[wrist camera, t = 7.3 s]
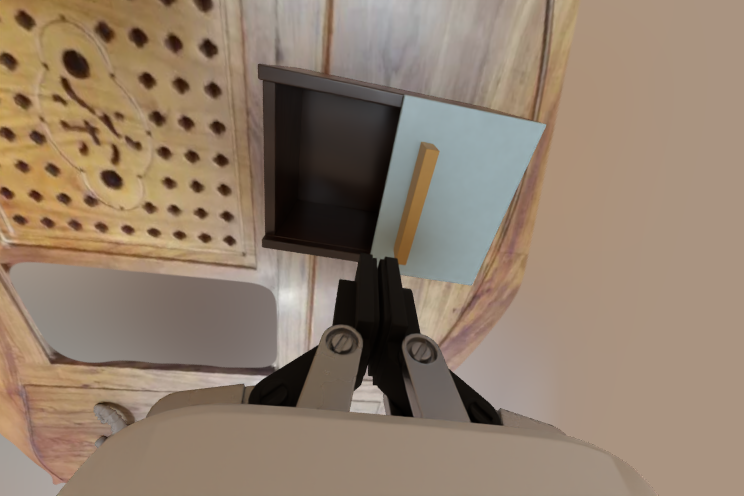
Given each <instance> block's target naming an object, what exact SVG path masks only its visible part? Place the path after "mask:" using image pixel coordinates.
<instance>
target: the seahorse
mask: <svg viewBox="0 0 744 496" xmlns="http://www.w3.org/2000/svg"><path fill="white" fill-rule="evenodd" d="M93 412H94V413H95V416H97V417H98V420H101V423H107V422H108V424H109V425H111V431H113V433H112V434H111V435H110V436H109V437H108V438H107V439H106V437H104V436H103V437H100V438H99V439H98V440H97V441H96V442H95V446H96V447H97V448H98V447H99V446H100V445H102V444H103V443H104V442H105V441H106V440H108V439H109V438H110V437H111V436H113V435H114V434H115V433H117V432H118V431H120V430H121V429H123V428H125V427H127V426H128V425H126V424H125V423H126V422H125V421H124V420H123V419H122V416H121V415H119V414H117V412H116V410H113V409H111V408H110V406H105V405H103V404H98V405H95V406H94V411H93Z"/></svg>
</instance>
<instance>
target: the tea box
mask: <svg viewBox="0 0 744 496" xmlns="http://www.w3.org/2000/svg"><path fill="white" fill-rule="evenodd" d="M258 78H259V79H260V80H263V125H264V189H265V236H264V237H263V239H262V247H264V248H270V249H277V250H283V251H290V252H297V253H303V254H310V255H316V256H323V257H329V258H336V259H342V260H349V261H356V262H358V261H359V256H360V253H366V254H370V253H371V248H372V244H373V239H374V234H375V229H376V225H377V220H378V215H379V210H380V206H381V201H382V196H383V192H384V187H385V182H386V177H387V173H388V168H389V163H390V159H391V154H392V149H393V144H394V140H395V135H396V130H397V126H398V121H399V116H400V111H401V107H402V102H403V97H404V95H410V96H415V97H419V98H424V99H429V100H434V101H439V102H443V103H448V104H453V105H458V106H462V107H467V108H472V109H477V110H482V111H486V112H491V113H496V114H501V115H506V116H510V117H515V118H520V119H525V120H529V121H533V120H530V119H526V118H522V117H519V116H515V115H512V114H508V113H505V112H501V111H497V110H494V109H490V108H486V107H481V106H476V105H472V104H467V103H462V102H457V101H453V100H448V99H443V98H438V97H434V96H429V95H424V94H419V93H415V92H410V91H405V90H400V89H396V88H391V87H386V86H381V85H377V84H372V83H367V82H362V81H358V80H353V79H348V78H343V77H339V76H334V75H329V74H324V73H320V72H315V71H310V70H305V69H301V68H295V67H285V66H276V65H267V64H258ZM534 122H537V121H534ZM539 123H540V122H539Z"/></svg>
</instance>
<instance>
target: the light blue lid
mask: <svg viewBox="0 0 744 496" xmlns="http://www.w3.org/2000/svg"><path fill="white" fill-rule="evenodd" d="M545 127H546V124H543V123H539V122H534V121H529V120H525V119H520V118H515V117H510V116H506V115H501V114H496V113H491V112H486V111H482V110H477V109H472V108H467V107H462V106H458V105H453V104H448V103H443V102H439V101H434V100H429V99H424V98H419V97H415V96H410V95H404V97H403V102H402V107H401V111H400V116H399V121H398V126H397V130H396V135H395V140H394V144H393V149H392V154H391V159H390V163H389V168H388V173H387V177H386V182H385V187H384V192H383V196H382V201H381V206H380V210H379V215H378V220H377V225H376V229H375V234H374V239H373V244H372V248H371V253H370V254H372V255H373V258H377V269H378V264H379V261H380V259H384V258H385V256H386V257H392V258H397V259H398V263H399V270H400V275H405V276H412V277H418V278H425V279H432V280H438V281H445V282H451V283H458V284H465V285H472V284H473V282H474V280H475V278H476V275H477V273H478V271H479V269H480V267H481V265H482V262H483V260H484V258H485V256H486V254H487V252H488V250H489V247H490V245H491V243H492V241H493V239H494V237H495V235H496V232H497V230H498V228H499V226H500V224H501V222H502V219H503V217H504V215H505V213H506V211H507V209H508V207H509V204H510V202H511V200H512V198H513V196H514V194H515V191H516V189H517V187H518V185H519V183H520V181H521V179H522V176H523V174H524V172H525V170H526V168H527V166H528V163H529V161H530V159H531V157H532V155H533V153H534V151H535V148H536V146H537V144H538V142H539V140H540V138H541V135H542V133H543V131H544V129H545Z"/></svg>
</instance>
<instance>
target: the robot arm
mask: <svg viewBox="0 0 744 496" xmlns="http://www.w3.org/2000/svg"><path fill="white" fill-rule="evenodd" d="M367 366H368V376H373V385H377V386H378V388H379V389H380V390H381V391H382V392H383V393H384V394H383V402H384V407H385V412H386V415H379V414H368V413H356V412H349V411H350V406H351V401H352V396H353V391H355V390H356V389H357V388H358V387H359V386H360V385H361V383H362V380H363V376H364V375H365V373H366V369H367ZM57 496H659V495H658V494H657V492H656V491H655V490H654V489H653V488H652V487H651V485H650V484H649V483H648V482H647V481H646V480H645V479H644V478H643V477H642V476H641V475H640V474H639V473H638V472H637V471H636V470H635V469H634V468H633V467H631V466H630V465H629V464H628V463H626V462H624V461H623V460H621V459H620V458H618V457H616V456H615V455H613V454H611V453H609V452H608V451H605V450H603V449H601V448H599V447H597V446H595V445H593V444H590V443H587V442H585V441H582V440H580V439H576V438H574V437H571V436H567V435H566V434H565V433H564V432H562V431H561V430H560V429H558V428H556V427H554V426H552V425H550V424H546V423H543V422H541V421H538V420H534V419H531V418H528V417H525V416H522V415H519V414H516V413H513V412H510V411H507V410H504V409H501V408H500V409H499V410H498V411H497V410H495V409H494V407H493V406H492V405H491V404H490V403H489V402H488V401H486V400H485V399H484V398H483V397H482V396H481V395H479V394H478V393H477V392H476V391H475V390H473V389H472V388H471V387H470V386H469V385H467V384H466V383H465V382H464V381H463V380H461V379H460V378H459V377H458V376H457V375H455V374H454V373H453V372H452V371H451V370H450V369H448V367H447V364H446V362H445V359H444V357H443V355H442V352H441V350H440V348H439V346H438V345H437V344H436V343H435V342H434V341H433V340H432V339H431V338H429V337H428V336H425V335H422V334H420V329H419V324H418V319H417V313H416V308H415V303H414V298H413V293H412V290H411V289H406V288H402V283H401V276H400V270H399V263H398V259H397V258H392V257H386V256H385V258H384V259H380V261H379V264H378V269H377V258H373V255H372V254H366V253H360V256H359V261H358V266H357V271H356V276H355V281H349V280H342V279H339V285H338V291H337V297H336V304H335V311H334V318H333V325H332V326H331V327H329V328H328V329H327V330H325V332H324V333H323V335H322V337H321V340H320V343H319V345H318V346H316V347H314V348H313V349H311V350H310V351H308V352H306V353H305V354H303V355H302V356H300V357H298V358H297V359H295V360H293V361H292V362H290V363H289V364H287V365H285V366H284V367H282V368H281V369H279V370H277V371H276V372H274V373H272V374H271V375H269V376H268V377H266V378H264V379H263V380H261V381H260V382H259V383H258V384H256V385H255V386H247V387H245V386H244V384H237V385H229V386H220V387H212V388H204V389H195V390H187V391H179V392H175V393H172V394H169V395H167V396H165V397H163V398H162V399H160V400H159V401H158V402H157V403H156V404H155V405H154V406H152V408H151V409H150V411H149V413H148V414H147V416H146V418H145V419H142V420H140V421H137V422H135V423H133V424H131V425H129V426H127V427H125V428H123V429H121V430H120V431H118V432H117V433H115V434H114V435H113V436H111V437H110V438H109V439H108V440H106V441H105V442H104V443H103V444H102V445H100V446H99V447H98V448H97V449H96V450H95V452H94V453H93V454H92V455H91V456H90V457H89V458H88V459H87V460H86V461H85V462H84V463H83V464H82V465H81V467H80V468H79V469H78V470H77V471H76V472H75V473H74V475H73V476H72V477H71V478H70V479H69V481H68V482H67V483H66V484H65V486H64V487H63V488H62V489H61V490H60V492H59V493H58V494H57Z"/></svg>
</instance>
